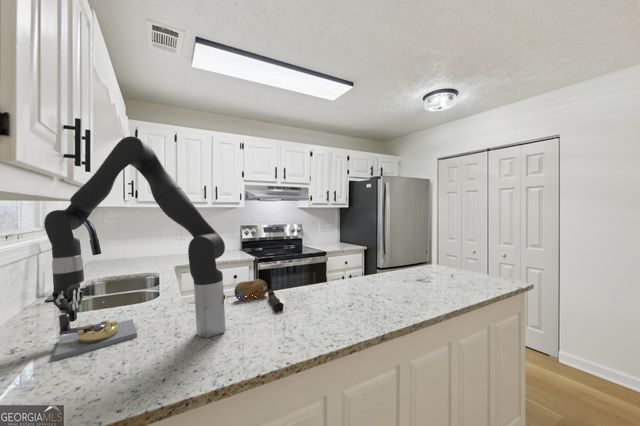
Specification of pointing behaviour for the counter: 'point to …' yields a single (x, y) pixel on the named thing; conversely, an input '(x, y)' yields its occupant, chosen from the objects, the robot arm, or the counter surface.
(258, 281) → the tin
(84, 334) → the lever with gold dial
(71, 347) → the base plate
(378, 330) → the counter surface
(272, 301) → the hand tool
